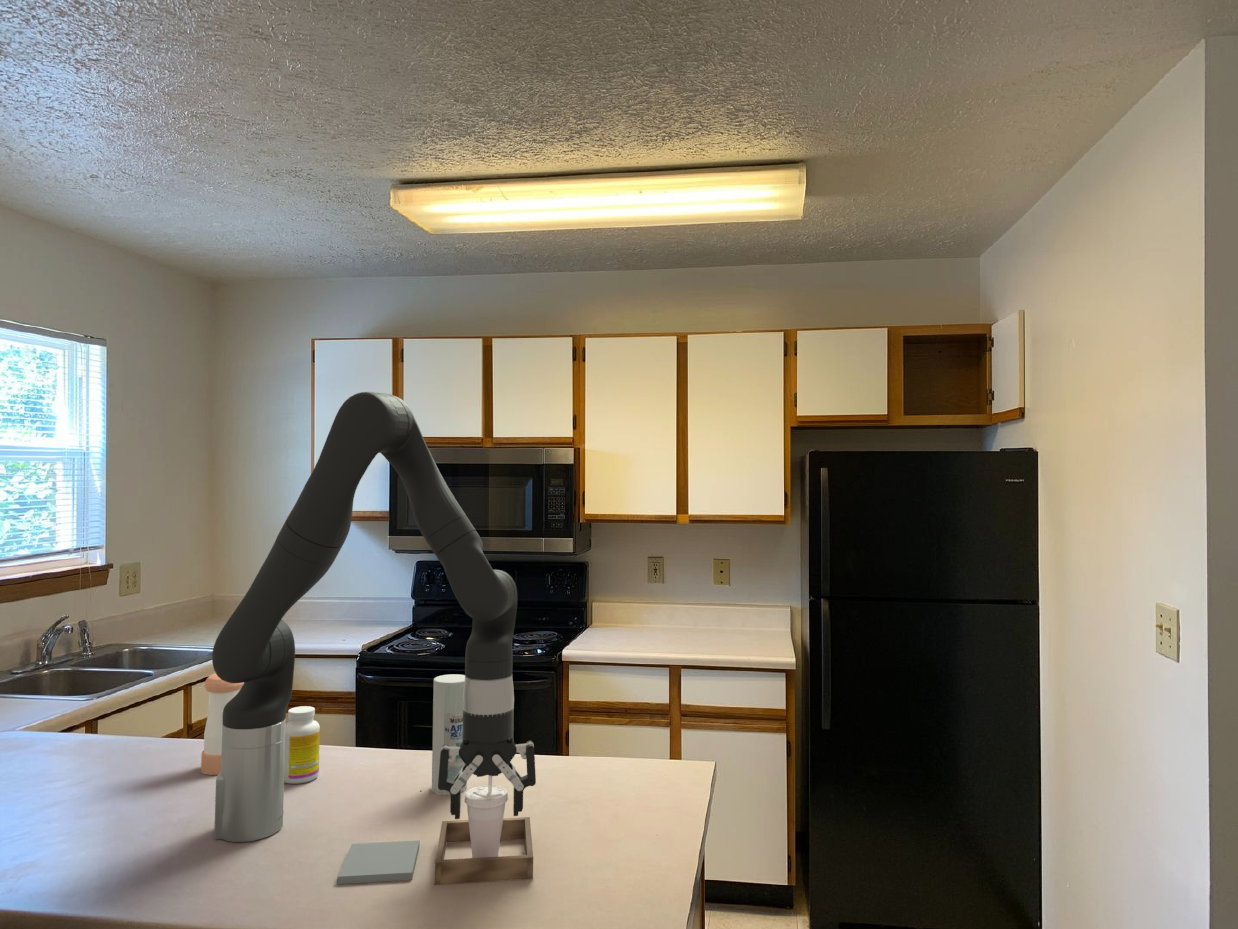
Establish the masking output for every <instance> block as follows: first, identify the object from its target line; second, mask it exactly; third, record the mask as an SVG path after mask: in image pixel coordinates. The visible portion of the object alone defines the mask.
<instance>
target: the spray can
mask: <svg viewBox="0 0 1238 929" xmlns="http://www.w3.org/2000/svg"><path fill="white" fill-rule="evenodd" d="M464 682H465V674H458V673H457V674H454V673H453V674H443V675H439V676H435V677H434V678H433V689H432V690H433V694H432V695H433V696H432V697H433V699H432V701H433V702H432V749H431V750H432V751H431V752H432V753H431V754H432V756H431V758H432V759H431V760H432V761H431V766H432V767H431V789H432V792H433V793H434V794H436V795H441V796H450V793H449V792H448V791H446V790H439V789H438V778H439V765H440V753H441V748H442V746H443V745H444V744H448V745H449V746H450V747H460V746H461V744H462V731H463V688H464ZM464 764H465V763H464V762H463V761H462V759H461V758H460V756H459V755H456V756H455V758H454V760H453V762H451V763H449V766H448V779H451V780H454V779H455V777H456V776H457V775H458V773H459V772H460V770H461V768H462V767H463V766H464ZM467 784H468V781H467V782H466V783H465V784H464V785H463V786H462V788H461V793H462V792H465V790H467Z"/></svg>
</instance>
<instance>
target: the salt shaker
mask: <svg viewBox="0 0 1238 929" xmlns="http://www.w3.org/2000/svg"><path fill="white" fill-rule="evenodd" d="M243 684H244V682H243V683H228V682H226V681H223V680H222V679H220V678H219V677H218V676H217V674H216V672H215V673H213V674H211V675H209V676H208V677H207V678H206V679H205V682H204V688H205V690H206V692H208V708H207V709H208V710H207V711H208V712H207V718H206V722H205V727H204V733H203V750H202V752H201V759H200V760H201V761H200V762H201V763H200V772H201V774H204V775H206V776H207V775H209V776H210V775H211V776H218V775H219V774H220V773H221V755H222V721H223V709H224V707H225V705H226V704H227V703H228V702H229V701H230V700H231V699H232V698H234V697H235V696H236V695H237V693H238V692H239V691H240V689H241V688H242V686H243Z"/></svg>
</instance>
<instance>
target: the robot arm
mask: <svg viewBox="0 0 1238 929" xmlns="http://www.w3.org/2000/svg"><path fill="white" fill-rule="evenodd" d="M378 454H381V455H382V456H383V457H384V458H385V460H386V461H388V463H389V464H390V465H391V467H392V468H393V469H394V471H396V473H397V475H398V476H399V478H400V480H401V482H402V484H403V487H404V488H405V491H406V494H407V497H408V501H409V505H410V508H411V510H412V516H413V518H414V520H415V523H416V525H417V528H418V530H419V531H420V533H421V535H422V536H423V538H424V540H425V541H426V543H427V544H428V546H429V547H430V549H431V550H432V552H433V554H434V555H435V557H436V558H437V560H438V561H439V562H440V564H441V565H442V567H443V569H444V573H445V575H446V578H447V581H448V583H449V585H450V587H451V590H452V592H453V594H454V596H455V598H456V600H457V602H458V604H459V605H460V607H461V608H462V609H463V611H464V612H465V613H466V614H467V615H468V616H469V617H470V618H472V626H471V627H472V628H471V634H470V636H469V638H468V640H467V642H466V646H465V655H464V656H465V657H464V659H465V660H464V675H465V682H464V688H463V731H462V744H461V746H460V747H450V746H449V745H448V744H444V745H443V746H442V748H441V753H440V765H439V778H438V789H439V790H446V791H448V792H449V793H450V795H449V796H450V797H449V799H450V802H449V803H450V806H449V807H450V810H449V812H450V815H451V816H454V820H460V818H461V798H462V797H461V796H462V795H461V794H462V792H461V788H462V786H463V785H464V784H465V783H466V782H467V783H468V780H469V779H470V778H471V776H473V775H474V776H476V777H477V778H480V777H485V776H489V775H490V776H492V777H498V776H499V775H500V774H503V776H504V777H505V778H506V780H508V781H509V782H510V783H511V784H512V786H513V806H512V807H513V808H512V809H513V812H512V813H513V817H518V816H519V812H520V813H521V812H522V811H523V809H524V790H525V789H526V788H528V787H534V786H535V785H536V783H537V782H536V781H537V780H536V777H537V776H536V760H535V759H536V757H535V746H534V745H535V744H534V742H533V741H532V740H528V741H526V742H525V743H518V744H517V743H515V740H514V721H515V720H514V719H515V718H514V713H515V712H514V709H515V706H514V705H515V692H514V690H515V689H514V681H513V660H514V658H513V639H514V632H515V626H516V618H517V609H518V589H517V584H516V582H515V581H514V579H513V577H512V576H511V575H510V574H509V573H507V572H506V571H504V570H502V569H501V570H500V569H493V567H492V565H491V564H490V563H489V560H488V559H487V557H486V555H485V553H484V552H483V550H484V544H483V543H484V542H483V540H482V538H481V537H480V534H479V533H478V532H477V530H476V528H475V527H474V525H473V524H472V522H471V521H470V519H469V518H468V516H467V515H466V513H465V511H464V510H463V508H462V507H461V506H460V504H459V502H458V501H457V499H456V498H455V495H454V494H453V493H452V491H451V489H450V488H449V486H448V484H447V482H446V480H445V479H444V477H443V475H442V474H441V472H440V469H439V468H438V466H437V464H436V461H435V459H434V458H433V455H432V453H431V451H430V449H429V446H427V443H426V441H425V439H424V435H423V434H422V431H421V429H420V425H418V422H417V420H416V418H415V416H414V413H413V412H412V410H411V408H410V406H409V405H408V404H407V403H406V402H405V401H404V400H403V399H401V398H400V397H398V396H395V395H392V394H390V393H389V394H388V393H382V392H381V393H380V392H375V391H362V392H358V393H354V394H353V395H351V396H349V397H348V398H347V399H346V400H344V401H343V403H342V405H341V406H340V407H339V409H338V411H337V413H336V415H335V417H334V420H333V422H332V424H331V426H330V429H329V432H328V435H327V437H326V439H325V442H324V445H323V447H322V449H321V452H320V455H319V457H318V458H317V459H318V460H317V461H316V464H315V466H314V467H313V469H312V472H311V473H310V476H309V477H308V479H307V481H306V482H305V484H304V486H303V489H302V491H301V493H300V495H299V496H298V498H297V500H296V502H295V504H294V506H293V508H292V509H291V510H290V513H289V514H288V516H287V517H286V519H285V521H284V523H283V525H282V527H281V529H279V530H280V531H279V532H278V535H277V536H276V539H275V541H274V542H273V545H272V547H271V549H270V551H269V553H268V554H267V557H266V558H265V560H264V561H263V563H262V565H261V567H260V569H259V571H258V573H257V574H256V576H255V578H254V580H253V582H252V583H251V585H250V587H249V588H248V590H247V592H246V593H245V595H244V596H243V598H242V599H241V601H240V602H239V603H238V605H237V607H236V608H235V609H234V611H233V613H232V614H231V615H230V617H229V618H228V620H227V621H226V622H225V624H224V626H222V628H221V630H220V632H219V633H218V635H217V637H216V639H215V641H214V644H213V648H212V655H211V661H212V666H213V667H212V668H213V670H214V672H215V673H216V674H217V676H218V677H219V678H220V679H222V680H223V681H226V682H228V683H243V682H244V684H243V686H242V688H241V689H240V691H239V692H238V693H237V695H236V696H235V697H234V698H232V699H231V700H230V701H229V702H228V703H227V704H226V705H225V707H224V709H223V721H222V755H221V773H220V774H219V775H216V778H215V794H214V795H215V797H214V799H215V800H214V826H213V827H214V829H213V831H214V833H213V835H214V836H213V839H214V840H219V839H220V840H224V841H226V842H232V843H246V842H253V841H258V840H261V839H264V838H268V837H270V836H272V835H274V834H276V833H278V832H279V831H280V830H281V829H282V828H283V825H284V801H285V800H284V798H285V796H284V793H285V792H284V791H285V790H284V789H285V782H284V767H285V731H286V724H287V723H286V722H287V721H286V720H287V708H288V706H289V704H290V701H291V699H292V696H293V695H292V694H293V687H294V686H293V684H294V672H295V664H296V663H295V662H296V643H295V638H294V634H293V631H292V629H291V627H290V626H289V625H288V623H287V622H285V621H284V620H283V618H284V616H285V615H286V614H287V613H288V611H289V610H290V609H291V608H292V607H293V606H294V605H295V604H296V603H297V602H298V601H299V600H300V599H301V598H302V597H304V596H305V595H306V594H307V593H308V592H309V591H310V590H311V589H312V588H313V587H314V586H316V584H317V583H319V582H320V580H321V579H322V578H323V577H325V575H326V573H327V572H328V571H329V570H330V568H331V567H332V565H333V563H334V562H335V561H336V559H337V556H338V555H339V553H340V551H341V549H342V547H343V545H344V544H345V542H346V539H347V537H348V536H349V532H350V529H351V525H352V518H353V508H354V498H355V495H356V491H357V489H358V486H359V484H360V481H361V480H362V478H363V477H364V475H365V473H366V471H368V468H369V466H370V465H371V463H372V462H373V460H374V459H375V457H376V456H377V455H378ZM516 754H519V755H520V757H521V759H522V760H526V761H525V762H526V775H523V776H521V774H520V773H519V772H518V770H517V769H516V767H515V765H514V764H513V763H512V760H513V759H514V758H515V756H516ZM456 755H459V756H460V758H461V759H462V761H463V762H464V763H465V764H464V766H463V767H462V768H461V770H460V772H459V773H458V775H457V776H456V777H455V779H454V780H451V779H448V766H449V763H451V762H453V760H454V758H455V756H456Z"/></svg>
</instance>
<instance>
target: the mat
mask: <svg viewBox="0 0 1238 929" xmlns="http://www.w3.org/2000/svg"><path fill="white" fill-rule="evenodd" d="M420 845H421V844H420V840H419V839H417V840H402V841H401V840H399V841H383V842H362V843H361V842H360V843H351V845H350V847H349V849H348V852H347V854H346V857H345V859H344V861H343V864H342V866H341V869H340V871H339V873H338V876H337V885H343V884H344V885H345V884H358V883H359V884H360V883H377V882H381V883H382V882H395V881H411V880H413V877H414V873H415V868H416V864H417V859H418V855H419V850H420Z"/></svg>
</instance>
